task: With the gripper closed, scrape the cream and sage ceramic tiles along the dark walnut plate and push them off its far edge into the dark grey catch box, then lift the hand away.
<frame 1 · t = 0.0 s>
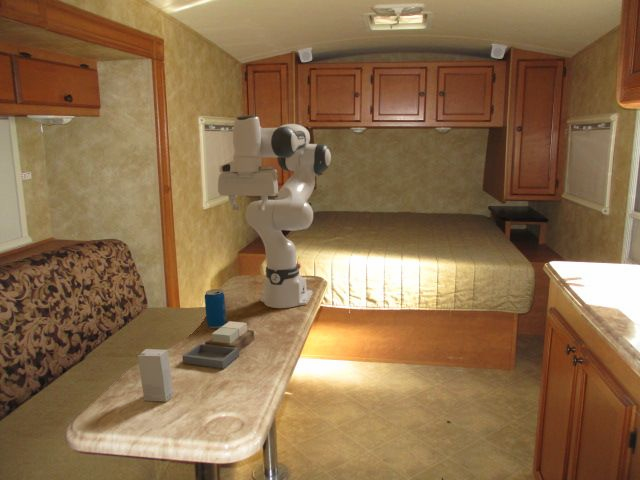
hand: (248, 210, 168), 39 cm above the table, tool pointing down, fingers open, 8 cm apart
catch box: (211, 360, 149), on the table
beverage can: (216, 326, 175), on the table
tile front: (225, 339, 156), point 3 cm above the table, touching walnut plate
walnut plate: (230, 345, 158), on the table
tile back: (234, 332, 161), point 3 cm above the table, touching walnut plate
skincare box: (158, 398, 128), on the table
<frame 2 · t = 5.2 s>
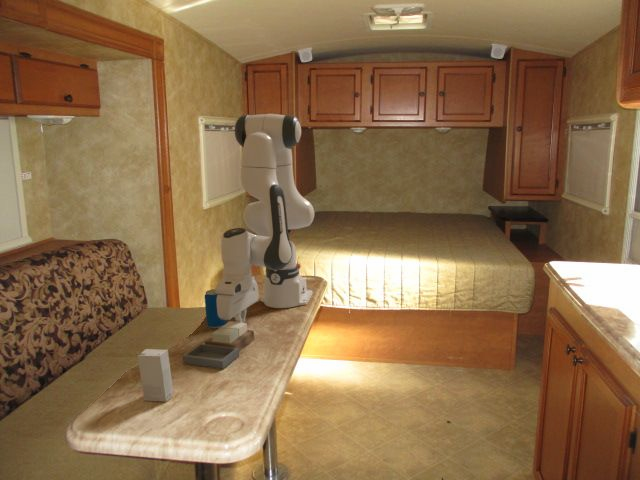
hand: (240, 323, 164), 5 cm above the table, tool pointing down, fingers closed
tile back: (234, 332, 161), point 3 cm above the table, touching gripper, walnut plate
everything else where it was.
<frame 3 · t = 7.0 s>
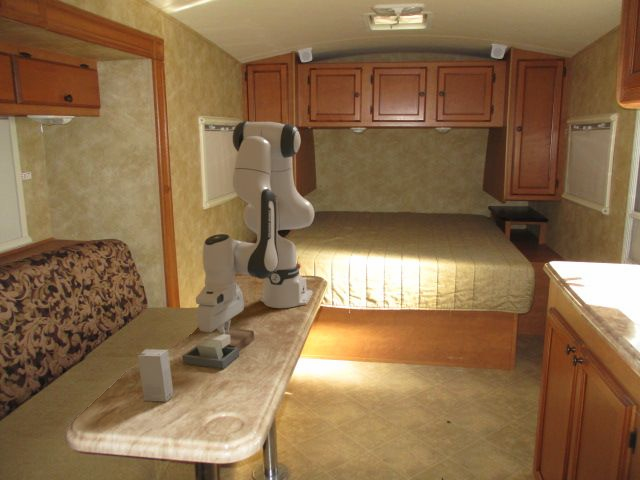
hand: (224, 335, 155), 5 cm above the table, tool pointing down, fingers closed
tile front: (212, 347, 149), point 4 cm above the table, tilted 109°, touching catch box, tile back
tile back: (217, 344, 151), point 3 cm above the table, touching gripper, tile front
everything else where it was.
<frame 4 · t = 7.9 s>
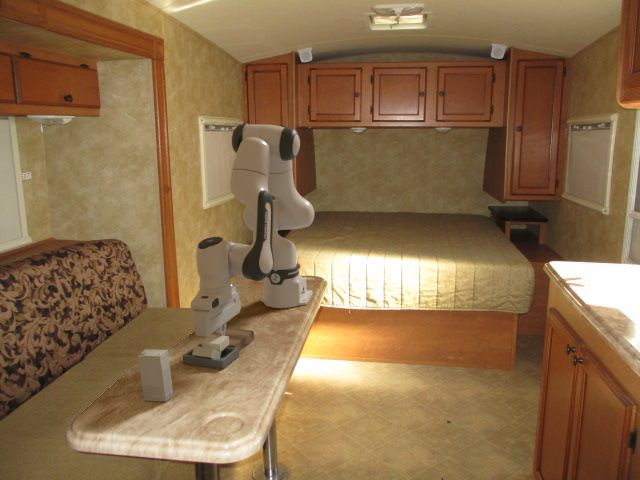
hand: (221, 338, 153), 4 cm above the table, tool pointing down, fingers closed, pressing on tile back
tile front: (207, 349, 147), point 4 cm above the table, tilted 144°, touching catch box, tile back
tile back: (216, 347, 151), point 3 cm above the table, touching gripper, tile front, walnut plate
everything else where it was.
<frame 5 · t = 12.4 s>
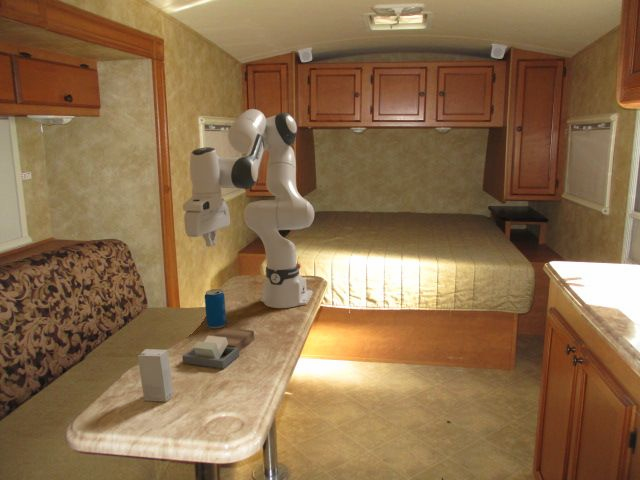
hand: (210, 245, 163), 29 cm above the table, tool pointing down, fingers closed
tile front: (209, 348, 148), point 4 cm above the table, tilted 111°, touching catch box, tile back
tile back: (215, 348, 151), point 2 cm above the table, tilted 21°, touching tile front, walnut plate
everything else where it was.
at the end: tile back inside the target area on the catch box (2.7 cm from its centre), point 2.2 cm above the catch box's base; tile front inside the target area on the catch box (0.5 cm from its centre), point 3.6 cm above the catch box's base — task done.
